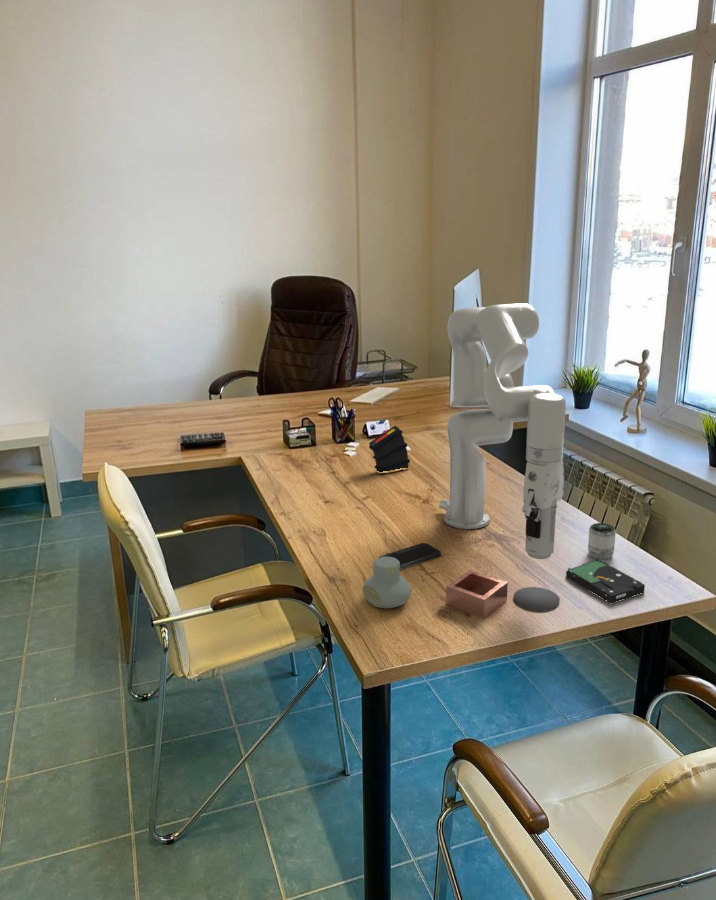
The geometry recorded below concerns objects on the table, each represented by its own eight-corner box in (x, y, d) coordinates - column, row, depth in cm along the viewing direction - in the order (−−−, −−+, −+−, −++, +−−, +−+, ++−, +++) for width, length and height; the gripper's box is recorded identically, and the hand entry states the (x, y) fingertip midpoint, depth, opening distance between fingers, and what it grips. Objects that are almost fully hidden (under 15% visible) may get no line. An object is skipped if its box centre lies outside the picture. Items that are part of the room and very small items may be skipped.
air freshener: (358, 598, 174) (356, 558, 171) (386, 587, 179) (386, 548, 175) (387, 618, 166) (386, 576, 162) (416, 606, 170) (416, 565, 167)
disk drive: (644, 595, 173) (597, 568, 186) (646, 584, 172) (598, 558, 185) (610, 607, 169) (564, 578, 181) (612, 595, 168) (565, 568, 180)
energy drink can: (526, 546, 171) (529, 484, 166) (554, 549, 169) (557, 486, 165) (524, 558, 166) (526, 494, 161) (552, 561, 164) (556, 496, 159)
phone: (443, 552, 193) (394, 568, 186) (443, 556, 194) (394, 572, 186) (424, 542, 200) (376, 556, 192) (424, 546, 200) (376, 560, 192)
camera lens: (618, 559, 189) (620, 530, 187) (594, 561, 188) (596, 532, 186) (606, 548, 195) (608, 519, 193) (583, 550, 194) (585, 522, 192)
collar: (445, 604, 170) (446, 586, 169) (469, 587, 177) (470, 569, 176) (484, 618, 164) (484, 599, 163) (507, 600, 171) (507, 582, 170)
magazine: (418, 463, 255) (400, 427, 248) (386, 485, 252) (367, 449, 245) (412, 460, 258) (395, 424, 251) (381, 482, 255) (362, 446, 248)
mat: (505, 601, 171) (505, 599, 171) (527, 584, 178) (527, 582, 178) (546, 616, 164) (546, 614, 164) (567, 597, 172) (567, 595, 172)
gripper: (541, 467, 152) (537, 549, 157) (579, 445, 164) (573, 522, 170) (507, 460, 156) (504, 540, 162) (547, 439, 169) (543, 514, 174)
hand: (540, 530), depth 166 cm, fingers closed on energy drink can, 6 cm apart
